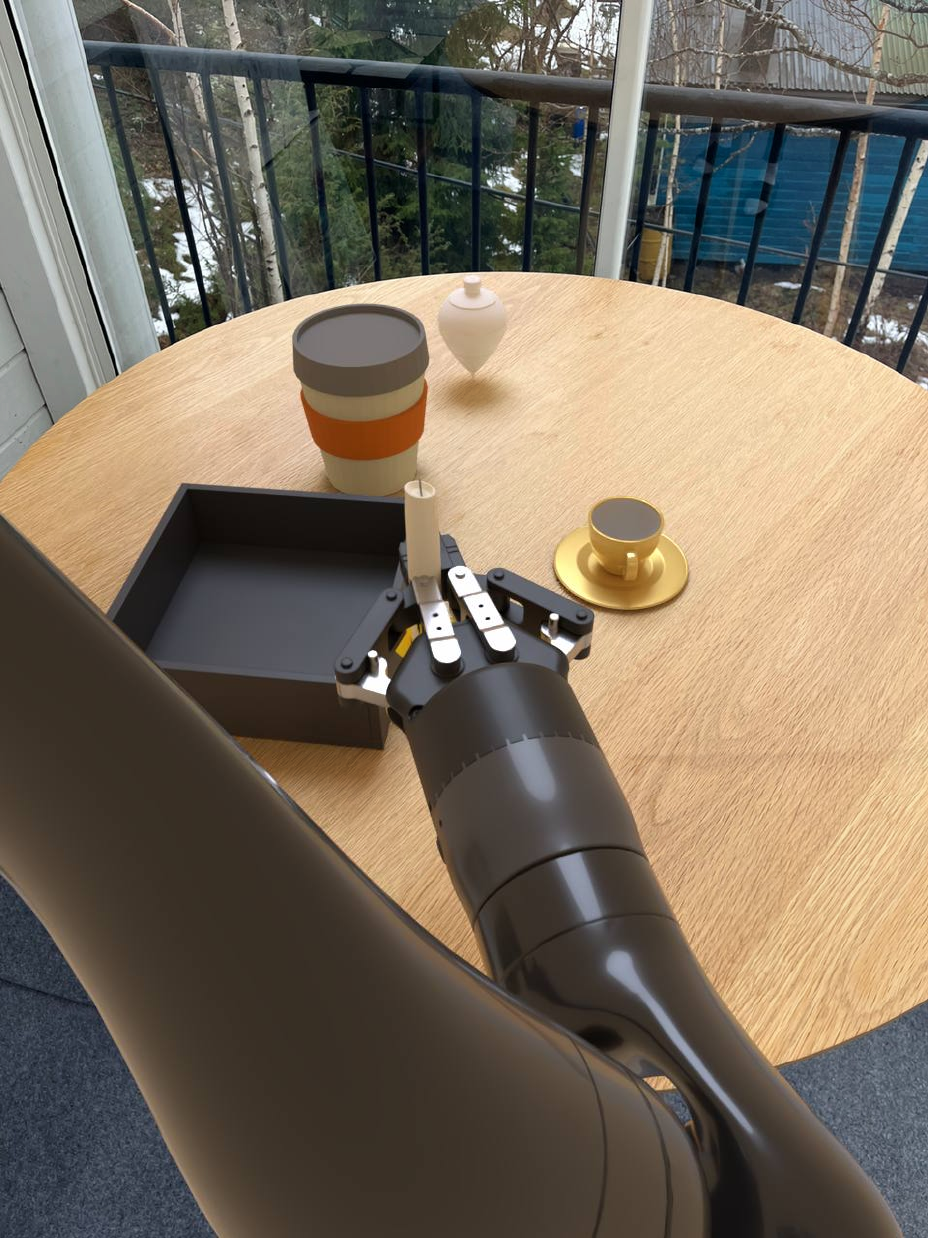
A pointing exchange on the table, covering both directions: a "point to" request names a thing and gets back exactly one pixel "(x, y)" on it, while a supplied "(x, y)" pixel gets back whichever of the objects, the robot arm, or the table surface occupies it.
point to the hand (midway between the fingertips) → (421, 542)
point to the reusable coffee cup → (364, 393)
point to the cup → (621, 556)
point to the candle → (421, 542)
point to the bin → (265, 605)
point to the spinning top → (472, 324)
